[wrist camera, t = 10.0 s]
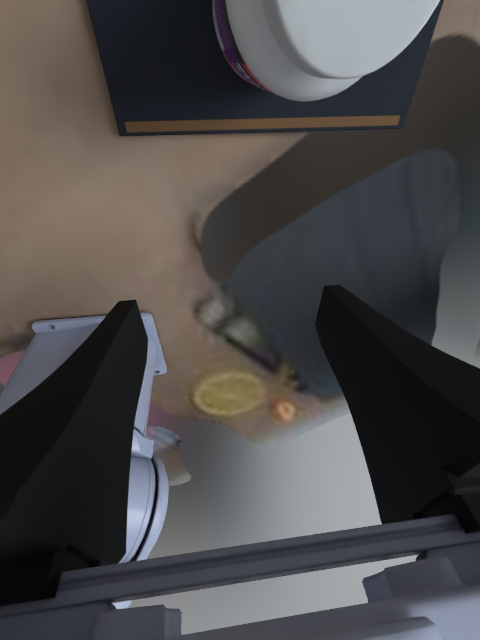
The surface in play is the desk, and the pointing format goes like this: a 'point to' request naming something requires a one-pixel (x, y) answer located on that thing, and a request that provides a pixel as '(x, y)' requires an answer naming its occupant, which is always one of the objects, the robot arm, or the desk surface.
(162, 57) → the felt pad
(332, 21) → the pill bottle
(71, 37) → the desk surface
